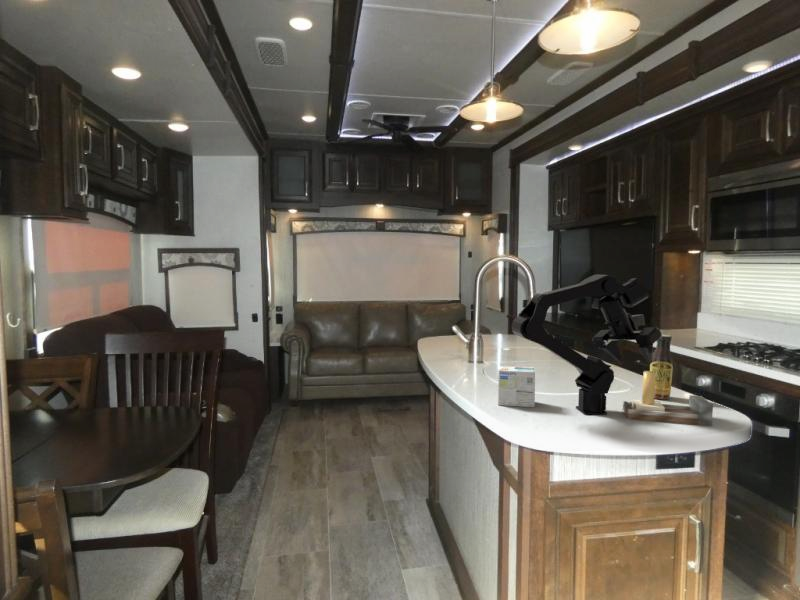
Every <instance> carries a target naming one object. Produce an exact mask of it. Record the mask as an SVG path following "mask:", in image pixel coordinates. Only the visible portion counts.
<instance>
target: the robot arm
mask: <svg viewBox="0 0 800 600" xmlns="http://www.w3.org/2000/svg"><path fill="white" fill-rule="evenodd" d="M649 294H650V292H649V290H648V288H647V287H646V286H645V285H644V284H643V283H642V282H640V280H639V278H637V277H634V278H631V279H629V280H627V282H625V283H622V284H621V283H619V282H617V280H616V278H615V277H614V276H613V275H611V274H593V275H591V276H589V277H587V278H584V279H583V280H581V281H580V282H579V283H577V284H573V285H568V286H565V287H560V288H556V289H554V290H550V291H546V292H542V293H535V294H534V295H533V296H532V297H531V299H530V301H529V302H528V304H527V305H526V306H525V307H523V309H522V310H521V311H520V313H519V314H518V316H517V317H515V318H514V319H513V321H512V322H511V331H512V333H513V334H514V335H516V336H517V337H520V338H522V339H525V340H527V341H530V342H532V343H535V344H538V345H539V346H541V347H542V348H544V349H545V350H547V351H549V352H550V353H552V354H553V355H555V356H556V357H558V358H560V359H561V360H563V361H564V362H566V363H567V364H569V365H571V366H572V367H574V368H575V369H576V371H577V372H578V373H579V375H578V376H577V377H576V379H575V380H574V382H575V385H576V387H578V402H577V403H578V405H576V406H575V409H576V410H578V411H579V412H581V414H582V413H583V414H584V415H607V414H608V412H607V411H606V409H607V394H608V393H609V391H610V389H611V386H612V384H613V382H614V379H615V372H614V370H613V368H611V367H612V365H610V364H608V363H605V362H604V361H603V360H602V359H601V358H599V357H595V356H592V355H590V354H588V355H587V357H585V356H583V355H582V354H580V353H579V352H577V351H576V350H575V349H573V348H572V347H570V346H568V345H567V344H565V343H563V342H562V341H561V340H559V339H558V338H556V337H554V336H552V335H551V334H550V333H549V332H548V330H547V329H546V328H545V326H543V325H544V323H545V321H546V317H547V314H548V310H549V309H550V308H551V307H554V306H558V305H561V304H566V303H569V302H573V301H577V300H581V299H583V298H584V299H585V298H593V297H595V298H594V299H593V300H594V301H593V303H592V304H591V308H592V309H598V310H599V309H600V311H601V312H602V314H603V317H604V320H605V321H606V322H604V325H603V326H604V327H605V328H607V327H608V329H601V330H599V331H598V332H597V333H596V334H595V335H594V336H593V337H592V340H591V341H592V343H593V345H594V347H598V348H599V349H600V350H603V351H604V352H605V353H607V354H608V355H610V356H611V357H612V358H613V359H614V360H616V361H617V362H618V363H619V364H624V358H623V356H622V352H621V351H620V348H619V345H618V341H635V342H636V344H637V345H638V346H637V348H638V350H639V352H640V353H641V354H642V356H643V357H644V359H645V361H646V362H647V363H648V364H649V365H650V364H651V363H652V354H653V347H654V344H655V343H657V340H658V339H659V338H660V337H661V336H662V332H661V330H660V328H658V327H656V326H655V327H654V326H653V327H652V326H651V327H644V328H642V329H641V330H640V331H639V332H635V331H638V330H639V327H641V326H646V322H645V316H644V313H643V314H640V313H639V314H631V313H630V312H627V311H626V310H625V307H626V308H628V309H630V308H633V307H634V306H636V305H638V304H639V303H641V302H643V301H645V300H646V299H648V298H649V297H650V295H649ZM596 297H597V298H596ZM598 297H600V298H598Z"/></svg>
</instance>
